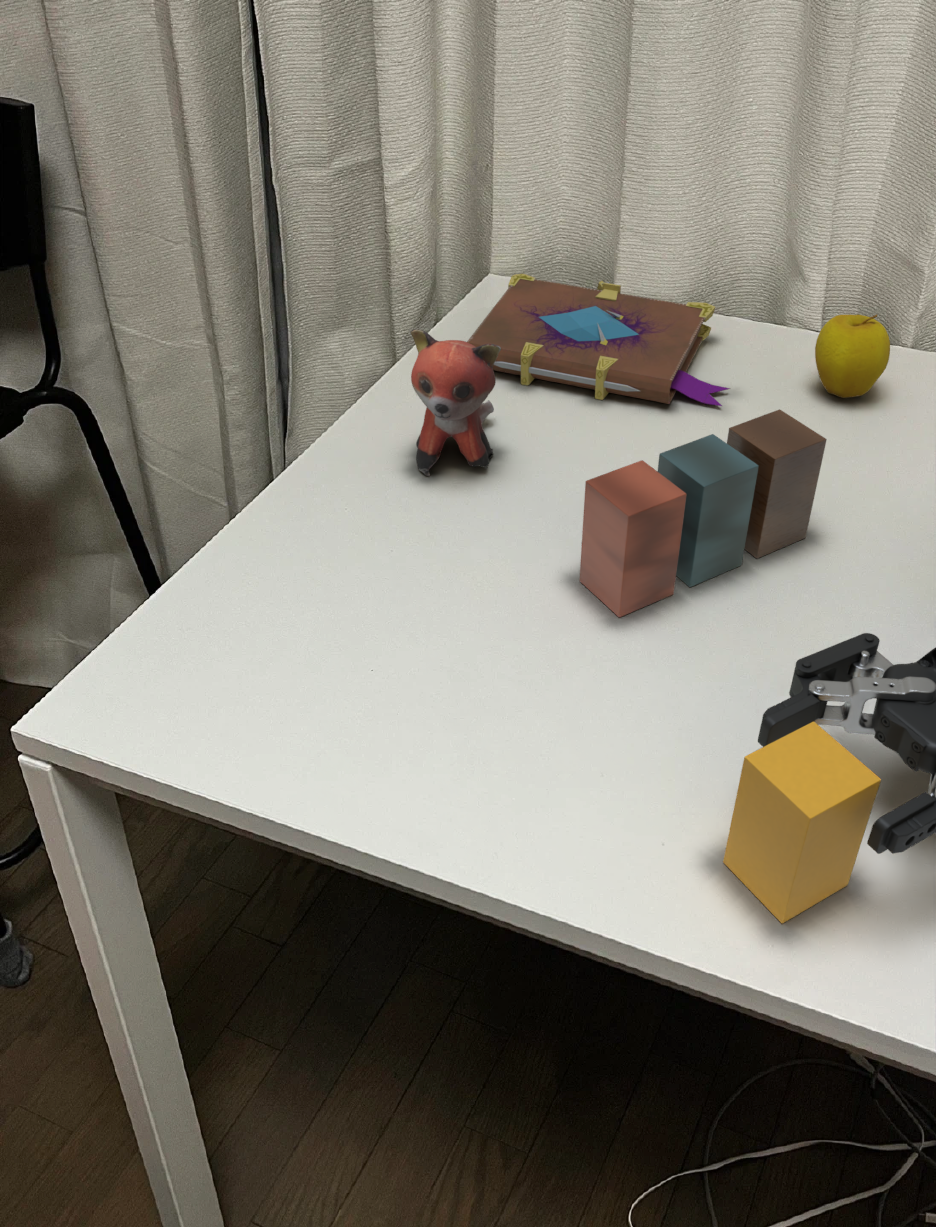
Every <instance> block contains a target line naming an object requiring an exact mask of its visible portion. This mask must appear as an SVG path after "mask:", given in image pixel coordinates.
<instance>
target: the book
mask: <svg viewBox="0 0 936 1227" xmlns="http://www.w3.org/2000/svg"><path fill="white" fill-rule="evenodd" d="M507 287H508V288H507V289H506V291H505V292H504V293H503V294H502V296H501V297H500V298H499V300H498V301H497V302H496V304H494V306H493V307H492V309H491V310H490V311H489V312H488V314H487V315H486V316H485V318H484V319H483V320H482V322H481V323H480V324H479V325H478V327H477V328H476V330H475V331H474V332H473V333H472V334H471V336H470V337H469V338H468V340H467V341H466V342H468V343H470V344H472V345H474V346H475V347H479V346H482V345H485V344H494V345H497V346H500V347H501V350H500V352H499V353H498V357H497V359H496V361H495V363H494V365H493V371H494V372H495V371H496V372H500V373H506V374H511V375H517V376H520V385H522V386H530V384H531V383H532V382H533V381H534V380H535V379H538V380H541V381H542V380H543V381H548V382H552V383H558V384H563V385H567V386H568V385H569V386H573V387H579V388H583V389H589V390H594V399H596V400H601V401H603V400H604V399H605V398H606V397H607V396H608V394H609V393H610V394H615V395H620V396H624V397H625V396H626V397H631V398H636V399H641V400H646V401H652V402H657V403H661V404H662V403H663V404H667V405H670V404H671V402H672V400H673V398H674V397H675V394H676V393H677V392H679V393H681V394H682V395H684V396H686V397H687V398H689V399H692V400H695V401H697V402H699V403H701V404H705V405H711V406H716V407H717V406H718V407H723V405H722V404H721V403H720V402H719V401H718V400H717V399H715V397H713V396H712V395H711V394H716V393H719V392H723V391H727V390H731V388H730V387H725V386H720V385H715V384H711V383H709V382H706V381H703V380H701V379H698V378H697V377H695V376H694V375H692V374H690V373H688V372H687V371H688V369H689V367H690V365H691V363H692V361H693V359H694V357H695V356H696V354H697V351H698V350H699V347H700V345H701V344H702V343H703V341H705V339H707V338H708V337H709V336H710V334H711V331H712V327H711V326H709V325H707V324H705V323H707V322H708V321H709V320H710V319H711V318H712V317H713V316H714V313H715V310H716V306H714V305H712V304H710V303H708V302H697V301H696V302H695V301H694V302H693V301H692V302H691V301H688V302H687V303H681V302H674V301H669V300H661V299H656V298H651V297H645V296H638V295H632V294H626V293H621V289H622V285H620V284H614V283H610V282H609V281H607V282H604V280H600V281H598V284H597V287H596V288H589V287H583V286H578V285H573V284H566V283H559V282H555V281H548V280H543V279H542V280H541V279H536V277H534V276H532V275H528V274H525V273H516V274H515V273H514V274H512V275H511V276H510V279H509V282H508V284H507Z"/></svg>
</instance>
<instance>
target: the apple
mask: <svg viewBox="0 0 936 1227" xmlns="http://www.w3.org/2000/svg"><path fill="white" fill-rule="evenodd" d="M878 315H879V313H877V314H874V315H873V316H867V315H863V314H838V315H835V316H832V318H830V319H829V320H828V321H826V322H825V324H824V325H823V326H822V328H821V329H820V331H819V333H818V336H817V339H816V342H815V346H814V359H815V365H816V370H817V374H818V376H819V380H820V382H821V384H822V386H823V388H824V389H825V390H826V392H827V393H828V394H830V395H834V396H837V397H839V398H841V399H847V398H855V397H861V396H863V395H865V394H867V393H868V392H869V391H870V390H871V389H872V388H873V386H874V385H875V384H876V382H877V381H878V379H880V377H881V376H882V375H883V373H884V372H885V370H886V369H887V366H888V363H889V360H890V355H891V341H890V337H889V334H888V331H887V329H886V328H885V326H884V324H882V323H881V322H880V321H878V320H876V318H877V317H878Z"/></svg>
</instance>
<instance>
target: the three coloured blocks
mask: <svg viewBox="0 0 936 1227" xmlns="http://www.w3.org/2000/svg"><path fill="white" fill-rule="evenodd" d="M826 445H827V438H826V437H824V436H822V434H820V433H818V432H816V431H815V430H813V429H812V428H810V427H808V426H807V425H805V424H804V423H802V422H800V421H799V420H798V419H796V418H794V417H792V416H791V415H790V414H788V413H786V412H785V411H783V410H782V409H777V410H774V411H771V412H769V413H766V414H763V415H761V416H757V417H754V418H752V419H750V420H747V421H744V422H741V423H739V424H736V425H733V426H730V427H728V433H727V440H726V441H724V440H723V439H721V438H720V437H718V436H717V435H715V434H714V433H712V434H711V433H710V434H709V435H706V436H703V437H701V438H698V439H696V440H693V441H690V442H687V443H684V444H682V445H678V446H677V447H674V448H670V449H668V450H665V451H662V452H660V453H659V454H658V463H657V469H655V468H654V467H652V466H651V465H650V464H648V463H647V462H646V461H644V460H642V459H641V460H638V461H636V462H633V463H631V464H628V465H625V466H622V467H619V468H617V469H614V470H611V471H608V472H606V473H604V474H601V475H598V476H595V477H593V478H590V479H587V480H585V484H584V499H583V514H582V515H583V516H582V517H583V519H582V532H581V533H582V534H581V548H580V562H579V566H580V567H579V578H578V580H579V582H580V583H581V584H582V585H583V586H584V587H585V588H587V589H588V591H589V592H591V593H592V594H593V596H595V597H596V598H597V599H598V600H600V601H601V602H602V603H603V604H604V605H605V606H606V607H607V608H608V609H610V611H611V612H612V613H613V614H614V615H616V616H617V617H618V618H622V617H625V616H627V615H629V614H631V613H634V612H636V611H639V610H641V609H643V608H645V607H647V606H650V605H652V604H654V603H656V602H659V601H661V600H663V599H666V598H669V597H671V596H673V595H675V586H676V579H677V578H678V579H680V581H682V582H683V583H684V584H685V585H687V586H688V587H689V588H692V587H694V586H696V585H699V584H702V583H703V582H707V581H708V580H711V579H713V578H715V577H717V576H720V575H722V574H725V573H727V572H729V571H732V570H734V569H736V568H740V567H741V566H742V563H743V558H744V552H745V551H746V552H747V553H749V555H751V556H753V557H754V558H755V559H761V558H762V557H764V556H766V555H769V554H771V553H774V552H776V551H778V550H780V549H783V548H785V547H788V546H790V545H792V544H795V543H797V542H799V541H801V540H804V539H806V538H807V533H808V529H809V523H810V519H811V515H812V510H813V505H814V500H815V496H816V492H817V491H816V490H817V486H818V482H819V477H820V473H821V472H820V471H821V467H822V464H823V459H824V453H825V450H826Z"/></svg>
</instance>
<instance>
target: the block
mask: <svg viewBox="0 0 936 1227" xmlns="http://www.w3.org/2000/svg"><path fill="white" fill-rule="evenodd" d="M881 783H882V779H881V778H880V777H879V776H878V775H877V774H876V773H874V771H872V770H871V769H870V768H869V767H868V766H867V765H865V764H864V763H863V762H862V761H861V760H860V759H858V757H856V756H855V755H854V754H853V753H851V752H850V751H849V750H848V749H847V748H846V747H845V746H843V745H842V744H841V743H840V742H838V741H837V740H836V738H834V737H833V736H832V735H831V734H829V733H828V731H826V730H825V729H823V728H822V727H821V725H818V724H816V723H815V722H811V723H809V724H808V725H806V726H804V727H802V728H800V729H798V730H796V731H794V732H792V733H790V734H788V735H786V736H784V737H782V738H780V739H778V740H776V741H774V742H772V743H770V744H768V745H766V746H764V747H763V746H761V747H760V748H758V749H756V750H755V751H753V752H751V753H749V754H747V755H745V756H744V757H743V761H742V767H741V771H740V776H739V782H738V785H737V786H738V787H737V791H736V795H735V801H734V806H733V811H732V816H731V821H730V826H729V831H728V836H727V841H726V845H725V849H724V850H725V851H724V856H723V860H722V863H723V864H724V865H725V866H726V867H727V868H728V869H729V870H730V871H731V872H732V873H733V874H734V875H735V877H736V878H737V879H738V880H740V882H741V883H742V884H743V885H744V886H745V887H746V888H747V889H748V890H749V891H750V892H751V893H752V894H753V895H754V896H755V897H756V898H757V899H758V901H759V902H760V903H762V905H763V906H765V908H766V909H767V910H768V911H769V912H770V913H771V914H772V915H773V916H774V918H775V919H777V921H779V922H780V923H781V924H784V923H787V922H788V921H789V920H791V919H793V918H795V917H796V916H797V915H800V914H801V913H803V912H805V911H807V910H808V909H810V908H812V907H813V906H815V905H817V904H818V903H820V902H822V901H823V900H825V899H827V898H828V897H830V896H832V895H833V894H835V893H837V892H839V891H841V890H842V889H844V888H845V887H848V885H849V883H850V880H851V876H852V874H853V869H854V867H855V864H856V861H857V858H858V855H859V851H860V848H861V845H862V842H863V839H864V836H865V832H866V829H867V827H868V823H869V820H870V817H871V813H872V810H873V808H874V805H875V801H876V797H877V795H878V791H879V788H880V785H881Z"/></svg>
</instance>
